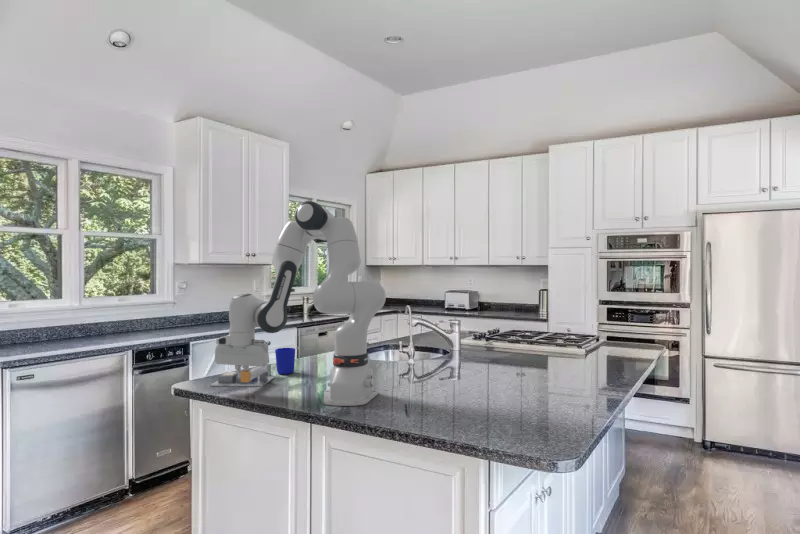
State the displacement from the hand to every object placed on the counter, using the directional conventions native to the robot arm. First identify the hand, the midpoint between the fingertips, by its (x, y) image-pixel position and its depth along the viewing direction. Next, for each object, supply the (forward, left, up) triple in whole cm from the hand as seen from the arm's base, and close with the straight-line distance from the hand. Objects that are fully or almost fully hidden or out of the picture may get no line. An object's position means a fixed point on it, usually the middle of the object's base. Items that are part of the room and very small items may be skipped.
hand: (242, 377), depth 185 cm
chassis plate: (+14, +5, -5) cm, 16 cm away
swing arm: (+6, -3, -1) cm, 7 cm away
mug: (+32, -7, -5) cm, 33 cm away
